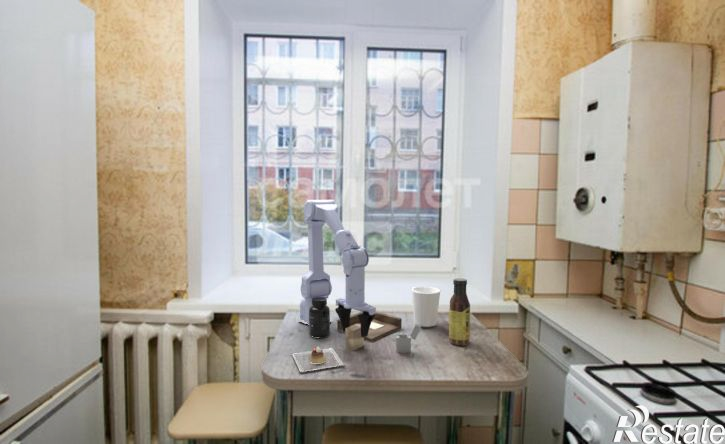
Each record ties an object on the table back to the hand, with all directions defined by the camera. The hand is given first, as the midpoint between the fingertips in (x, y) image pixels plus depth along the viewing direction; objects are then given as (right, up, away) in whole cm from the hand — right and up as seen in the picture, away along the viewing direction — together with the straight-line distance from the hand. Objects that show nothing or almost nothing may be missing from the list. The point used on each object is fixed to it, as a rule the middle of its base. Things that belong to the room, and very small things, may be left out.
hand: (355, 333), depth 115 cm
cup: (+24, -3, +19) cm, 31 cm away
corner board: (+5, -3, +15) cm, 16 cm away
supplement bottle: (-12, -4, +10) cm, 16 cm away
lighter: (+16, -5, -3) cm, 17 cm away
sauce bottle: (+32, -4, +4) cm, 33 cm away
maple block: (0, -4, 0) cm, 4 cm away
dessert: (-10, -6, -10) cm, 15 cm away
